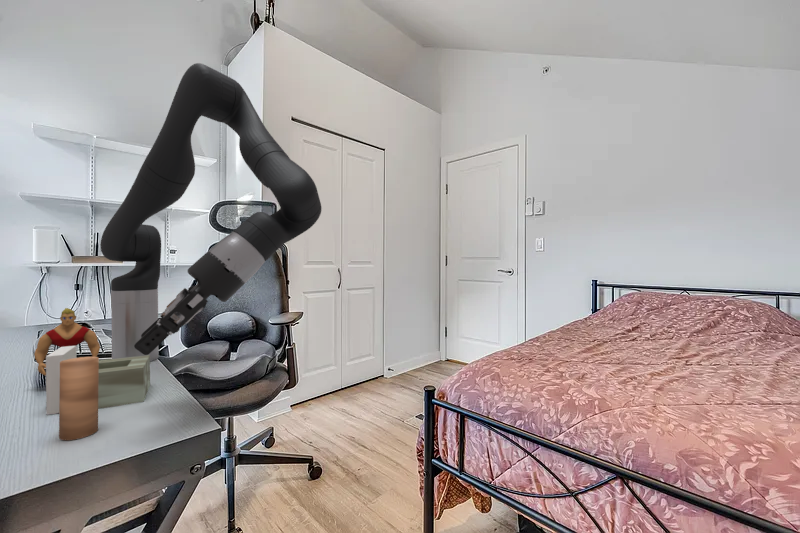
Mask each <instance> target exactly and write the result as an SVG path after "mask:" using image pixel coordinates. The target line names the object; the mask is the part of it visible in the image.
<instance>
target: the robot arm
mask: <svg viewBox="0 0 800 533" xmlns="http://www.w3.org/2000/svg"><path fill="white" fill-rule="evenodd" d="M201 117H205V118H207V119H209V120H212V121H215V122H218V123H222V124H225V125H227V126H228V127H229V128H230V129H231V130H233V132H235V133H236V134H237V136H239V139H238V140H239V141H238V143H239V144H238V145H239V152H240V155H241V157H242V159H243V162H244V163H245V164H246V165H247V167H248V168H249V169H250V171H251V172H252V174H253V175H254V176H255V177H256V179H257V180H258V181H259V182H260V183H261V184H262V185H263V186H265V187H266V188H267V189H269V190H270V191H271V193H272V195H273V196H274V198H275V199H276V202H277V203H278V205H279V209H278V210H276V211H275V212H273V213H272V214H268V213H266V212H264V211H256V212H255V213H253V214H251V215H249V217H247V218H246V219H245V220H244V221H243V222H241V223H240V224H239V225H238V227H236V228H235V229H234V230H233V231H232V232H230V233H229V234H227V235H226V236H225V237H223V238H222V239H220V240H219V241H218V242H217V243H216V244H214V246H212V247H211V248H210V249H209V250H208V251H207V252H206V253H204V254H203V255H202V256H201V257H200V258H198V259H197V260H196V261H195V262H194V263H193V264H192V265H191V266H189V267H188V269H187V273H188V275H190V276H191V277H192V278H193V279H194V280H195V281H196V285H192V286H190V287H188V289H187V288H186V287H184V288H183V289H181V291H179V293H178V294H177V295H176V296H175V298H174V299H172V301H171V302H169V303H168V304H167V306H166V308H165V309H164V311H163V312H161V313H160V316H159V280H160V275H161V261H162V259H161V257H162V238H161V237H162V236H161V233H160V232H159V230H158V228H157V227H155V226H153V225H151V224H143V223H145V222H146V220H148V219H150V218H151V217H153V216H155V215H156V214H158V213H160V212H161V211H163V210H165V209H167V208H169V207H171V206H172V205H174V204H175V203H176V202H178V201H179V200H180V199H181V198H182V197H183V196H184V194H185V193H186V191H187V189H188V188H189V185H190V184H191V182H192V181H193V180H194V179H193V178H194V177H195V172H196V162H195V155H194V152H193V146H192V134H193V131H194V130H195V129H194V128H195V126H196V125H197V122H198V120H199V119H200V118H201ZM162 124H163V125H162V127H161V129H160V130H159V133H158V135H157V137H156V139H155V141H154V143H153V145H152V146H151V149H150V151H149V152H148V153H147V155H146V157H145V158H144V161H143V162H142V164H141V167H140V168H139V170H138V174H137V175H136V178H135V180H134V181H133V183H132V185H131V188H130V189H129V190H128V193H127V195H126V197H125V199H124V200H123V201H122V203H121V205H120V206H119V208H118V209H117V210H116V211H115V213H114V215H113V216H112V217H111V219H110V220H109V221H108V223H107V225H106V226H105V228H104V230H103V232H102V235H101V239H100V252H101V254H102V256H103V257H104V258H105V259H107V260H109V261H113V262H121V263H122V262H124V263H125V262H127V263H129V262H134V263H135V266H134V268H132V270H130V271H129V272H127V273H124V274H122V275H119V276H116V277H114V278H112V279H111V282H110V290H111V291H110V300H111V302H110V303H111V306H110V307H111V308H110V309H111V359H118V358H127V357H137V356H146V355H150V362H152V361H154V360H155V361H156V360H158V359H159V358H160V357H159V355H160V354H159V352H160V351H159V350H160V349H159V346H160V345H161V344H162V343H163V342H164V341H165V340H166V338H169V336H172V335H174V334H177V333H178V332H179V331H180V329H181V328H182V327H183V326H186V325H187V324H189V322H190V321H191V320H192V319H193V318H194V317H195V316H196V315H197V314H199V313H200V312H203V310H204V309H205V308H206V307H207V306H206V305H207V304H208V303H209V301H208V300H207V299H208V298H209V297H210V296H215V298H216V299H218V300H219V301H221V302H222V303H225V302H227V301H229V300H230V299H231V298H232V297H233V295H235V294H236V293H237V292H238V291H239V290H240V289H241V288H242V287H243V286H245V284H246V283H247V282H248V281H250V279H251V278H252V277H254V276H255V274H256V273H257V272H258V271H259V270H260V269H261V267H262V266H263V265H264V264H265V262H266V261H268V260H269V259H270V257H272V256H273V255H274V254H275V253H276V252H277V251H278V250H279V249H280V248H281V247H282V246H283V245H285V244H286V243H288V242H291V241H292V240H293V239H295V238H298V236H300V235H302V234H303V233H305V232H306V231H308V230H309V229H311V228H312V227H313V226H314V225H315V224H316V223H317V222H318V220H319V218H320V216H321V214H322V202H321V199H320V195H319V192H318V188H317V186H316V183H315V181H314V179H313V178H312V177H311V176H310V174H309V173H308V172H307V171H306V170H305V169H304V168H303V167H301V165H299V164H298V163H297V162H295V161H294V160H292V159H291V158H290V157H289V155H288V154H287V153H286V152H285V150H284V149H283V148H282V146H280V145H279V143H278V142H277V141H276V140H275V139H274V137H273V136H272V135H271V133H270V132H269V131H268V129H267V128H266V126H265V125H264V122H263V121H262V119H261V118H260V116H259V114H258V112H257V111H256V109H255V107H254V105H253V104H252V101H251V100H250V98H249V96H248V94H247V93H246V90H245V89H244V88H243V87H242V85H241V84H240V83H239V82H238V81H236V80H235V79H234V78H232V77H230V76H229V75H226V74H224V73H222V72H221V71H218V70H216V69H214V68H213V67H211V66H208V65H206V64H204V63H200V62H197V63H193V64H192V65H190V66H189V67H188V68H187V69H186V70H185V72H184V73H183V75H182V77H181V79H180V82H179V84H178V87H177V88H176V92H175V94H174V96H173V100H172V102H171V104H170V107H169V110H168V112H167V115H166V117H165V120H164V123H162Z"/></svg>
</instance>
